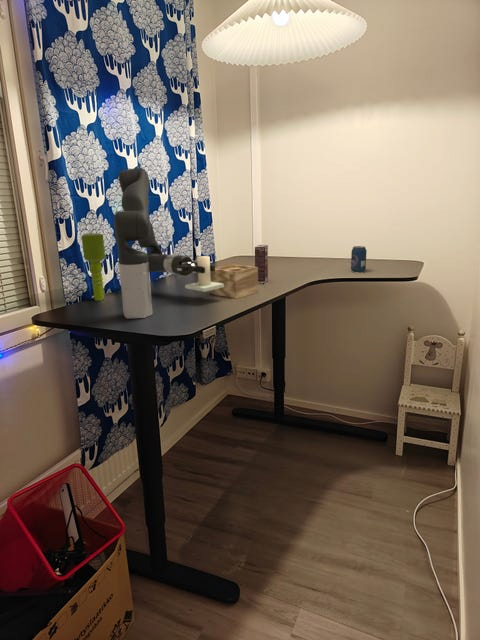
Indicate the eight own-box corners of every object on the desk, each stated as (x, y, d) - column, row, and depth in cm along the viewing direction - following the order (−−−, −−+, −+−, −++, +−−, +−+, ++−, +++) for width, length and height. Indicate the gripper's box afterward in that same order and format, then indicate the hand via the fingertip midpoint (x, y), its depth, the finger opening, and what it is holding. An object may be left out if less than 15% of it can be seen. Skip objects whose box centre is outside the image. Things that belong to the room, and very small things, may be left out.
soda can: (347, 271, 219) (348, 246, 215) (359, 270, 221) (360, 245, 218) (356, 273, 212) (357, 248, 209) (368, 272, 215) (369, 247, 212)
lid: (224, 286, 164) (223, 256, 161) (204, 291, 157) (202, 259, 154) (205, 283, 171) (203, 254, 168) (185, 288, 164) (183, 257, 161)
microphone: (103, 301, 167) (95, 234, 161) (85, 301, 169) (77, 234, 162) (113, 297, 175) (107, 232, 168) (96, 296, 177) (89, 232, 170)
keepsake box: (258, 292, 177) (257, 267, 174) (235, 298, 168) (235, 271, 165) (233, 288, 185) (233, 264, 183) (211, 293, 176) (210, 268, 173)
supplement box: (265, 283, 193) (265, 246, 189) (254, 283, 194) (253, 246, 190) (268, 280, 201) (268, 244, 197) (257, 280, 202) (257, 244, 198)
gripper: (162, 257, 165) (194, 261, 154) (191, 253, 175) (223, 256, 164) (164, 277, 167) (195, 282, 156) (192, 272, 177) (223, 276, 166)
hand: (209, 269), depth 160 cm, fingers closed on lid, 4 cm apart
